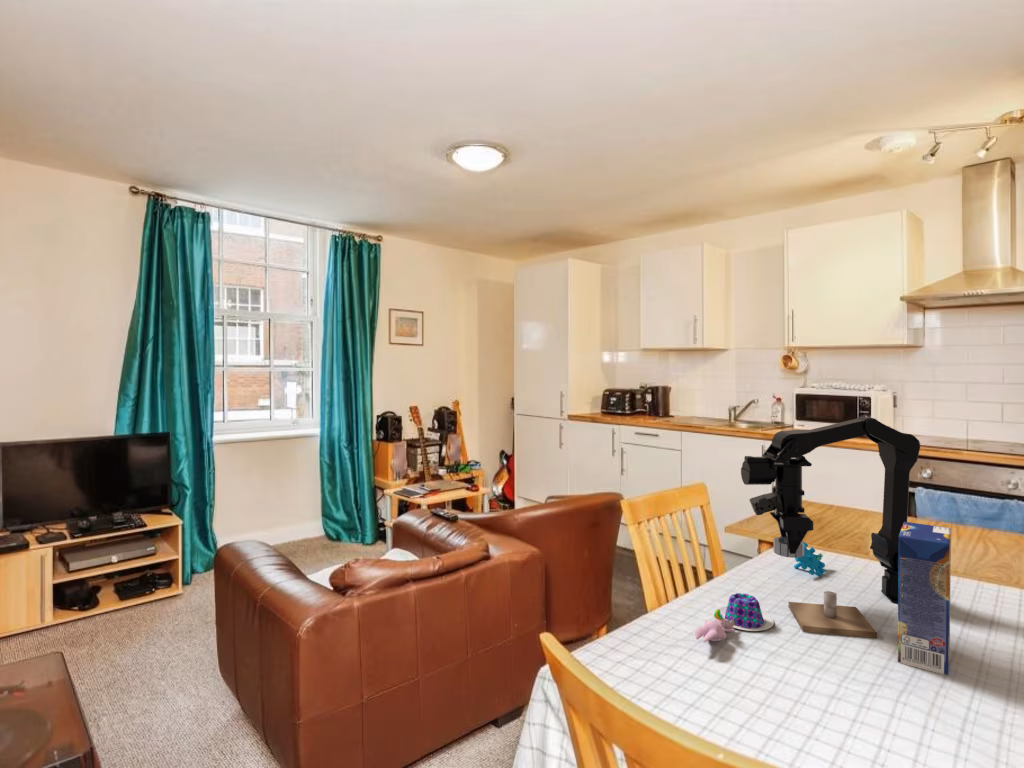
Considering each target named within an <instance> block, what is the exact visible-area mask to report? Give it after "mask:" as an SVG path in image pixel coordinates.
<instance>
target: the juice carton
mask: <svg viewBox="0 0 1024 768" xmlns="http://www.w3.org/2000/svg"><path fill="white" fill-rule="evenodd" d="M951 543H952V527H946V526H939V525H931V524H924V523H916V522H909V521H907V522H904V523H903V526H902V529H901V531H900V534H899V563H898V603H897V606H898V607H897V611H898V612H897V613H898V614H897V662H898V663H899V664H904V665H908V666H911V667H914V668H918V669H923V670H926V671H930V672H933V673H937V674H940V675H943V676H949V668H950V654H951V653H950V652H951V651H950V650H951V577H952V576H951V572H952V571H951V570H952V569H951V566H952V565H951V558H952V555H951V554H952V551H951V550H952V549H951V548H952V544H951Z"/></svg>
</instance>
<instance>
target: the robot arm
mask: <svg viewBox="0 0 1024 768" xmlns="http://www.w3.org/2000/svg"><path fill="white" fill-rule="evenodd" d="M860 437H866V438H868V440H870V441H871V442H873V443H874V444H876V445H877V448H878V455H879V457H880V458H879V459H880V460H881V462H882V465H883V467H884V481H883V482H884V483H883V504H882V505H883V506H882V522H881V524H882V525H881V528H880V529H879V531H878V532H871V534H870V537H871V538H870V539H871V545H870V547H869V549H870V550H872V554H873V556H874V557H875V559H876V560H878V561H879V564H880V566H881V567H882V568H884V571H883V574H884V575H882V576H881V590H880V592H881V593H882V594H883V595H884V596H885V597H886V598H887V599H888V600H889V601H890V602H891V603H896V604H898V563H899V534H900V531H901V529H902V526H903V523H904V522H908V514H909V513H908V512H909V494H910V493H909V491H910V474H911V470H912V469H913V467H914V466H915V464H916V463H917V462H918V458H919V455H920V451H921V442H920V439H918V438H917V437H916V436H915V435H913V434H910V433H905V432H901V431H899V430H897V429H896V428H893V427H891V426H889V425H886V424H885V423H883V422H880V420H878V419H876V418H874V417H869V416H859V417H857V418H855V419H850V420H846V421H842V422H837V423H833V424H832V423H831V424H829V425H823V426H820V427H815V428H812V429H792V430H791V429H790V430H780V431H778V432H776V433H775V434H774V436H773V437H772V439H771V444H769V446H768V447H767V449H766V450H765V451H764V453H762V456H752V455H745V456H744V459H743V460H744V461H743V462H742V464H741V468H740V476H741V481H742V482H743V484H744V485H745V486H747V485H749V486H750V485H751V486H754V485H758V486H759V485H761V486H763V485H764V486H765V485H767V486H768V485H772V483H775V485H773V486H772V488H771V492H768V493H764V494H760V495H757V496H753V497H751V498H750V499H749V502H750V504H751V508H752V510H753V512H754V514H755V515H756V516H762V515H763V514H765V513H769V514H770V516H771V517H773V519H774V520H775V521H776V522H777V525H778V529H779V534H780V537H782V536H783V537H787V542H788V547H789V552H790V554H795V553H796V551H797V549H798V547H799V545H800V544H801V542H802V541H804V538H805V537H806V535H807V533H808V532H810V531H814V521H813V520H812V519H811V518H810V517H809V516H808V515H807V513H805V508H804V507H803V496H805V490H804V489H803V467H812V465H813V464H812V463H811V462H810V461H809V460H808V459H807V458H806V456H805V455H807V454H810V453H811V452H813V451H814V450H816V449H817V448H819V447H822V446H826V445H830V444H834V443H840V442H843V441H848V440H853V439H855V438H856V439H857V438H860Z"/></svg>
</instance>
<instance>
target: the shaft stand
mask: <svg viewBox="0 0 1024 768" xmlns="http://www.w3.org/2000/svg"><path fill="white" fill-rule="evenodd" d="M837 596H838V595H837V593H836V592H833V591H832V590H831V591H830V590H827V591H826V590H825V591H823V603H822V604H821V603H811V602H808V603H807V602H798V601H796V602H795V601H788V605H787V607H788V608H789V610H790V612H791V614H792V615H793V618H794V619H795V621H796V622H797V624H798V626H799V627H800V629H801V632H805V633H806V632H807V633H815V634H817V633H818V634H827V635H839V636H840V635H841V636H853V637H863V638H874V639H878V631H877V630H876V628H874V626H873V625H872V624H871V623H870V622H869V620H868V619H867V618H866V617H865V616H864V615H863V613H862V612H861V611H860V610H859V609H858V607H856V606H851V605H850V606H848V605H839V604H838V605H837V603H838V602H837V599H838V597H837Z"/></svg>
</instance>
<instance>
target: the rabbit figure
mask: <svg viewBox="0 0 1024 768" xmlns="http://www.w3.org/2000/svg"><path fill="white" fill-rule="evenodd" d="M713 616H714V618H715V619H714V621H712V620H710V621H708V620H705V621H704V623H703V625H702V626H700V627H697V628H695V630H694V634H695V639H696V640H699V639H700V638H702V637H704V638H703V642H708V641H712V642H715V641H716V642H718V641H722V640H725V639H726V638H727V634H726V632H730V633H731V632H733V633H734V632H735V631H736V628H733V626H735V624H734V619H733V620H731V621H729V620H727V619H725V617H723V616H722V615H721V614H720V608H718V609H716V610H714V613H713ZM735 627H736V626H735Z"/></svg>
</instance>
